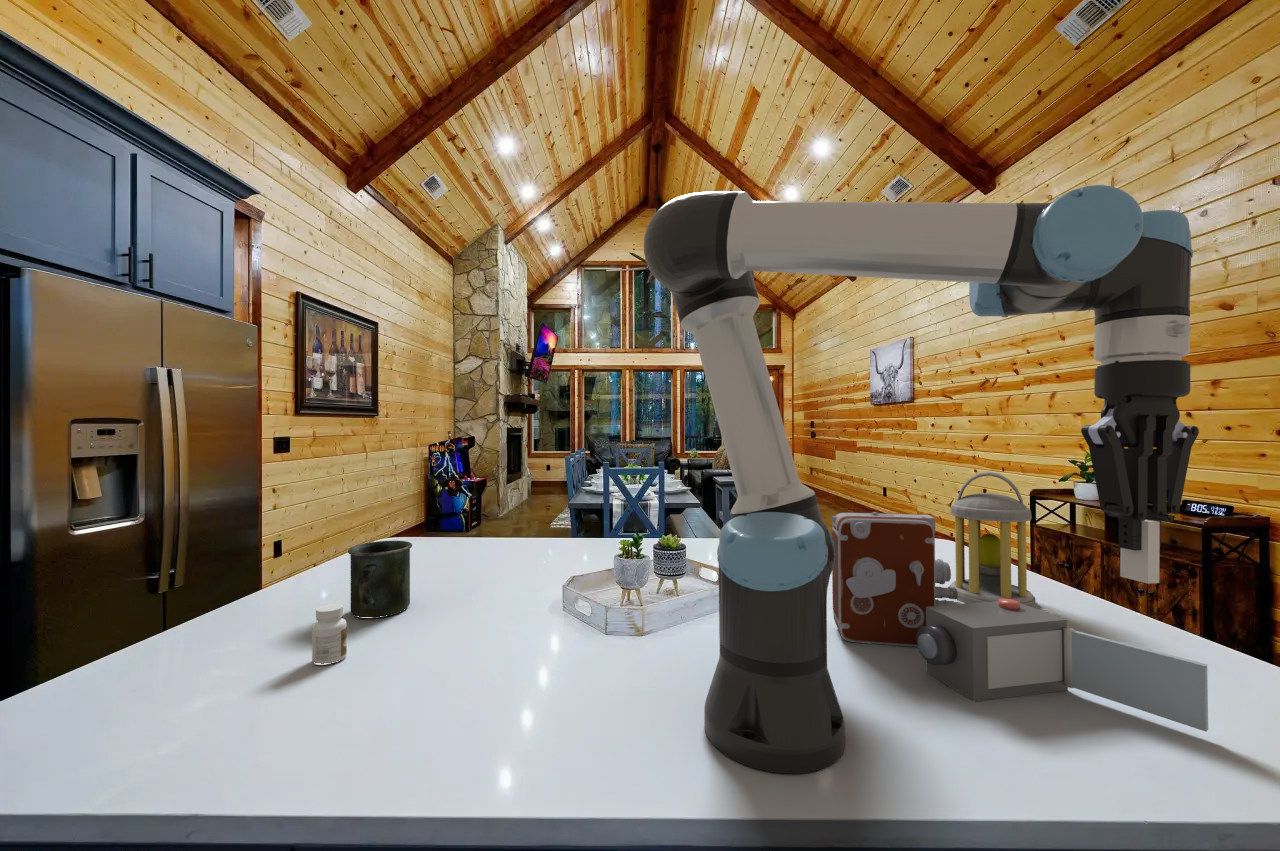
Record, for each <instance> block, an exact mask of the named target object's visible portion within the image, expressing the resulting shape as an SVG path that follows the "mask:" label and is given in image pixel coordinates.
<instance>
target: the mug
mask: <svg viewBox="0 0 1280 851" xmlns="http://www.w3.org/2000/svg"><path fill="white" fill-rule="evenodd" d="M412 547H413V544H412V542H410V541H407V540H381V541H380V540H379V541H372V542H367V543H361V544H356V545H354V546H352V547H351V548H349V549H348V550H347V553H348V554H349V555H350V613H351V615H352V616H353V615H355V616H359V617H380V616H386V615H391V614H394V615H396V614H395V613H397V614H399V613H398V612H400V611H402V612H404V611H405V610H407V609H408V607H410V604H411V562H410V561H411V557H410V556H411V548H412ZM406 608H407V609H406ZM404 609H405V610H404ZM403 610H404V611H403ZM400 613H401V612H400ZM355 616H354V617H355ZM391 616H392V615H391ZM386 617H387V616H386Z"/></svg>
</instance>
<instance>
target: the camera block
mask: <svg viewBox="0 0 1280 851" xmlns="http://www.w3.org/2000/svg"><path fill="white" fill-rule="evenodd" d="M1064 628H1068V619H1067V618H1063V617H1060V616H1057V615H1054V614H1052V613H1050V612H1046V611H1043V610H1041V609H1038V608H1036V607H1034V608H1033V607H1030V606H1027V605H1024V604H1022V603H1020V602H1018V601H1016V600H1012V599H999V601H993V602H981V603H968V604H967V603H964V604H955V605H942V606H929V607H926V626H923V627H921V628H920V629H919V630H918V632H917V645H918V647H917V648H918V651H919V653H920V655H921V657H922V658H923V659H924V661H925V662H926V673H927V674H929V675H931V676H932V677H934V678H935V679H937V680H939V681H940V682H942V683H943V684H945V685H947V686H948V687H950V688H951V689H953V690H954V691H956V692H958V693H959V694H961V695H963V696H964V697H966V698H968V699H969V700H971V701H972V702H980V701H981V702H982V701H989V700H996V699H1004V698H1007V699H1008V698H1014V697H1023V696H1031V695H1039V694H1047V693H1049V694H1050V693H1054V692H1055V693H1056V692H1057V693H1058V692H1063V691H1064V692H1065V691H1068V690H1069V687H1066V686H1065V685H1064Z"/></svg>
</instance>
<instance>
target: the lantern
mask: <svg viewBox="0 0 1280 851" xmlns="http://www.w3.org/2000/svg"><path fill="white" fill-rule="evenodd" d="M980 477H994V478H997V479H1000V480H1002V481H1004V482H1005V483H1007V484H1008V485H1009V486H1010V488H1012V490H1013V491H1014V492H1015V494H1016V498H1018V500H1017V499H1016V498H1013V497H1010V496H1007V495H1003V494H999V493H989V492H983V493H982V492H981V493H980V492H979V493H972V494H968V495H965V496H962V495H963V493H964V491H965V489H966V488H967V487H968V485H970V484H971V482H973V481H974V480H976V479H978V478H980ZM1023 500H1024V499H1023V498H1022V495H1021V493H1020V491H1019V489H1018V487H1017V486H1016V485H1015V484H1014V483H1013V482H1012V481H1011V480H1010V479H1009V478H1007V477H1005V476H1004V475H1002V474H1000V473H996V472H992V471H985V472H984V471H983V472H979V473H976V474H974V475H973V476H971V477H970V478H968V480H966V482H964V483H963V485H962V486H961V488H960V491H959V492H958V494H957V499H956V501H954V502H953V503H952V504H951V506H950V514H951V515H952V516H954V534H955V535H954V536H955V538H954V540H955V543H954V544H955V551H954V552H955V580H954V581H953V582H951V583H950V584H949V586H948V587H955V588H956V589H957V592H958V598H957V601H958V600H959V601H958V602H961V603H963V602H964V604H968V603H981V602H993V601H999V599H1012V600H1016V601H1018V602H1020V603H1022V604H1024V605H1027V606H1030V607H1033V608H1036V605H1037V601H1036V597H1035V596H1034V594H1033V593H1032V591H1030V590H1028V589H1027V587H1028V584H1027V581H1028V580H1027V579H1028V578H1027V522H1029V521H1031V520H1032V511H1031V509H1030V508H1029V507H1027V506H1026V505H1025V504H1024V501H1023ZM965 519H966V520H968V523H967V525H968V526H967V527H968V532H967V533H968V578H965V577H966V576H965V574H966V573H965V572H966V569H965V567H966V566H965V565H966V564H965V560H966V558H965ZM981 521H985V522H996V523H997V522H999V533H1000V534H999V537H998V536H997V535H995V534H993V533H985V534H982V535H981ZM1012 523H1017V524H1016V525H1017V526H1016V527H1017V536H1016V538H1017V541H1016V542H1017V585H1015V584H1012V540H1011V539H1012V538H1011V535H1012V534H1011V533H1012V531H1011V528H1012V527H1011V526H1012V525H1011V524H1012Z"/></svg>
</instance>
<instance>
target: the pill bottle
mask: <svg viewBox="0 0 1280 851" xmlns="http://www.w3.org/2000/svg"><path fill="white" fill-rule="evenodd" d="M343 615H344V606H343V605H342V604H340V603H331V604H324V605H322V606H318V607H317V608H316V609H315V619H316V621H317V622H316V623H314V624H313V626H312V628H311V629H312V630H311V631H312V632H311V637H312V638H311V639H312V640H311V641H312V644H311V645H312V646H311V660H312V661H313V662H315V663H321V664H324V663H332V662H336V661H339V660H342V659H343V658H344V659H346V658H347V656H348V654H347V653H348V652H347V651H348V649H347V647H348V646H347V643H348V642H347V637H348V636H347V634H348V631H347V630H348V623H347V620H346V619H345V618H342V617H343ZM346 655H347V656H346ZM344 659H343V660H344ZM343 660H342V661H343ZM312 661H311V662H312ZM313 662H312V663H313Z"/></svg>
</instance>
